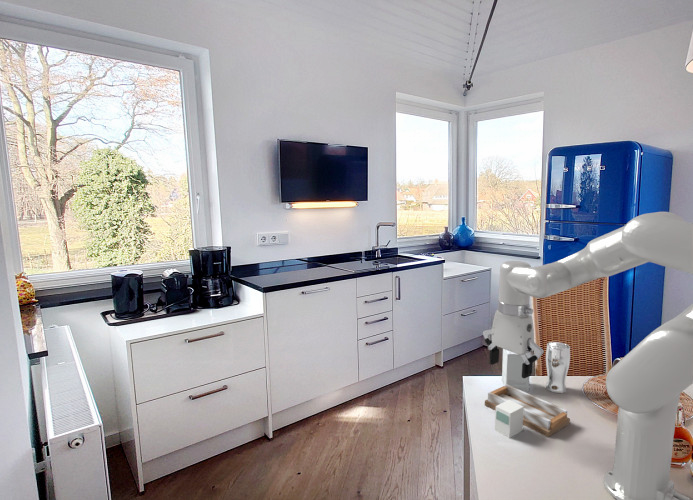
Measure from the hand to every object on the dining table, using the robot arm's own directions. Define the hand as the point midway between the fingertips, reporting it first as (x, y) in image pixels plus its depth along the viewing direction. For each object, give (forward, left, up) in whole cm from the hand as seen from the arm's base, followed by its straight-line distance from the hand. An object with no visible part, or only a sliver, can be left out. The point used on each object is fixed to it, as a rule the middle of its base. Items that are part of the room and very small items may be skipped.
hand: (509, 369), depth 108 cm
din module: (0, 0, -17) cm, 17 cm away
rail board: (+2, -11, -17) cm, 21 cm away
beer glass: (+5, -33, -18) cm, 38 cm away
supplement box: (+14, -24, -18) cm, 33 cm away
